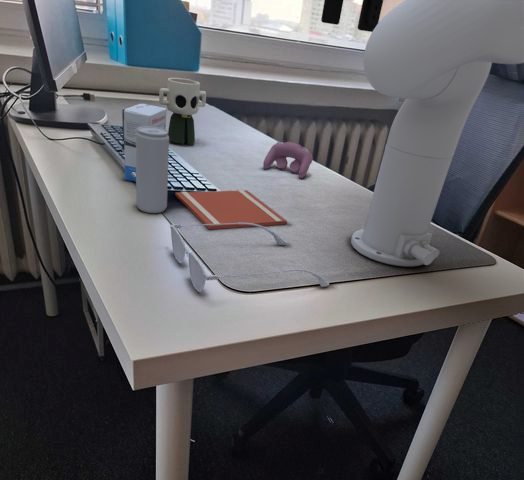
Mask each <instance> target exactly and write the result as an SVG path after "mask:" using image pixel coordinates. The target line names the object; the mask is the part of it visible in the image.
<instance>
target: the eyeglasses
mask: <svg viewBox="0 0 524 480" xmlns="http://www.w3.org/2000/svg"><path fill="white" fill-rule="evenodd" d="M224 224H247V225H254V226H253V227H259V228H261V229H263V230H264V231H267V233H269V234H270V235H271V236H272V237H273V238H274V240H275V242H276V244H277V245H280V246H285V245H287V242H286V240H285V239H283V237H282V236H280V235H279V234H278V233H276V232H275V231H273V230H271V229H269V228H268V227H266V226H260V225H257V224H253V223H224ZM205 225H221V224H203V223H202V224H189V225H181V224H180V223H178V224H169V228H170V235H171V236H170V238H171V247H172V252H173V255H174V257H175V260H176V261H177V262H178V264H183V263H184V260H185V256H186V258H188V269H189V277H190V281H191V283H192V285H193V288H194V289H195V290H196V291H197V292H198V293H202V292H203V290H204V288H205V285H206V281H216V280H219V278H231V277H232V278H233V277H245V276H257V275H259V276H260V275H266V274H277V273H287V272H288V273H289V272H305V273H308V274H310V275H312V276H313V277H315V279H317V281H318V283H319V285H320V287H322V288H324V287H329V286H330V282H329V281H328V280H327V279H326V278H325V277H323V276H322V275H320V274H319V273H317V272H315V271H312V270H310V269H304V268H291V269H283V270H278V271H269V272H261V273H260V272H259V273H247V274H233V275H218V274H210V275H209V274H208V273H207V272H206V270H205V268H204V266H203V264H202V263H201V262H200V260H199V258H198V257H197V256H196V255H195V253H194V252H191V251H190V249H189V248H188V247H187V246H186V243H185V241H184V239H183V237H182V235H181V234H180V232H179V231H178V229H181V228H182V227H183V228H184V227H198V226H199V227H200V226H205Z"/></svg>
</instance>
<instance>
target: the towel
mask: <svg viewBox="0 0 524 480" xmlns="http://www.w3.org/2000/svg"><path fill="white" fill-rule="evenodd" d="M174 196H175V197H176V199H178V200H179V201H180V202H181V203H182V204H183V205H184V206H185V207H186V208H187V209H188V210H189V211H190V212H191V213H192V214H193V215H194V216H195V217H196V218H197V219H198V220H199V221H200V222H201V223H202V224H221V225H204V227H206V228H207V229H208V230H220V229H237V228H252V227H255V226H254V225H247V224H224V223H253V224H257V225H260V226H263V227H266V226H281V225H283V226H284V225H287V224H288V220H286V219H285V218H284V217H282V216H281V215H280V214H278V213H277V212H276V211H275V210H273V209H272V208H271V207H269V206H268V205H267V204H266V203H264V202H263V201H262V200H261V199H259V198H258V197H256V196H255V195H253V193H251V192H250V191H249V190H243V189H237V190H217V191H216V190H215V191H178V192H175V194H174Z"/></svg>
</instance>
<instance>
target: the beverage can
mask: <svg viewBox="0 0 524 480" xmlns="http://www.w3.org/2000/svg"><path fill="white" fill-rule="evenodd" d="M137 131H138V132H137V133H136V182H135V190H136V191H135V193H136V194H135V195H136V196H135V197H136V198H135V200H136V201H135V202H136V203H135V204H136V207H137V208H138V210H140V211H141V212H143V213H148V214H161V213H163V212H165V210H166V209H167V207H168V187H169V185H168V184H169V155H170V153H169V151H170V150H169V149H170V140H169V136H168V130H167V129H166V130H165V129H162V128H158V127H150V126H143V127H138V128H137Z"/></svg>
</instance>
